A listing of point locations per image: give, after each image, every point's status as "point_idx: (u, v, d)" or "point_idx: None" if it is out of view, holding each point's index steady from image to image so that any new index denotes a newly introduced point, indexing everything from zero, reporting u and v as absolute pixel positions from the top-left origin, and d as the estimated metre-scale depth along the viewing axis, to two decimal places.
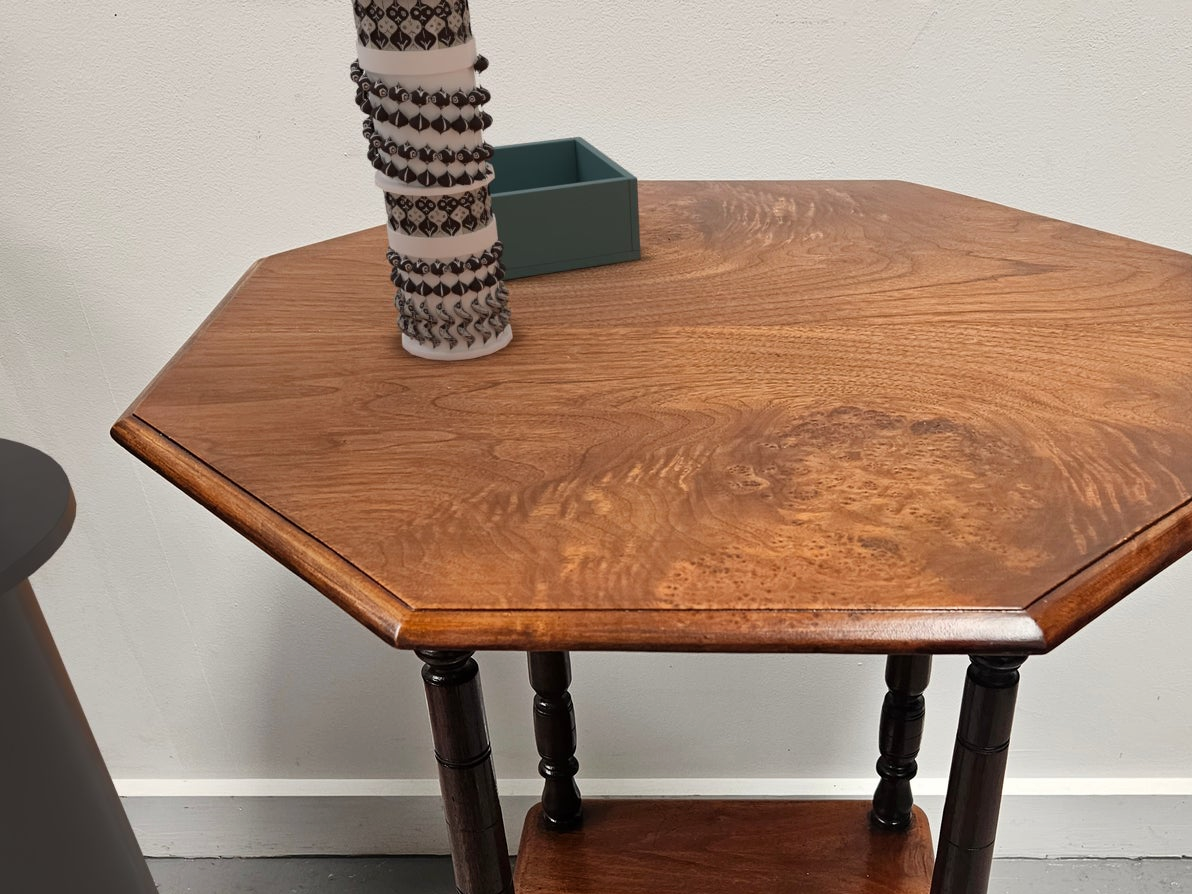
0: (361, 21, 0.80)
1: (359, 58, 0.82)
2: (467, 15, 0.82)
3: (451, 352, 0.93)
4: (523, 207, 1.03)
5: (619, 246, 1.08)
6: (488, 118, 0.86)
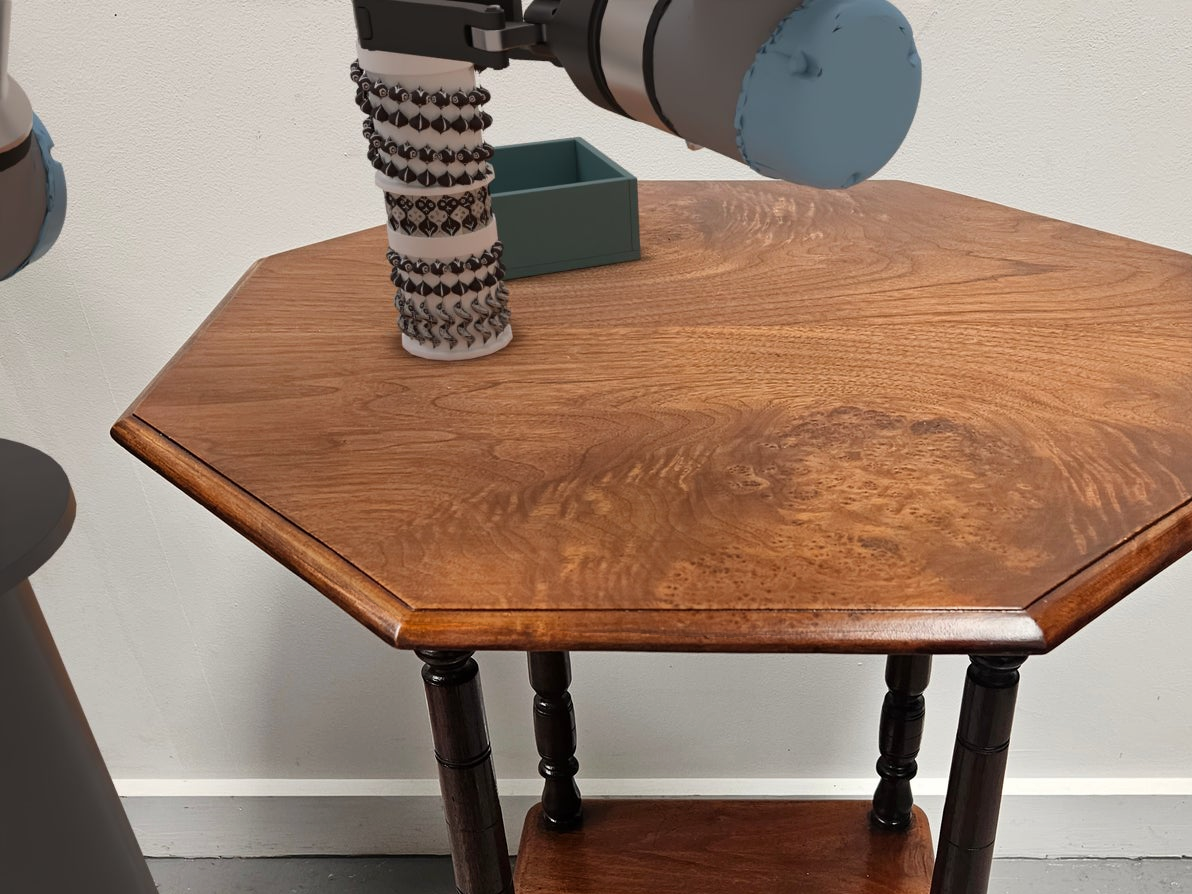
0: None
1: (359, 58, 0.82)
2: None
3: (451, 352, 0.93)
4: (523, 207, 1.03)
5: (619, 246, 1.08)
6: (488, 118, 0.86)
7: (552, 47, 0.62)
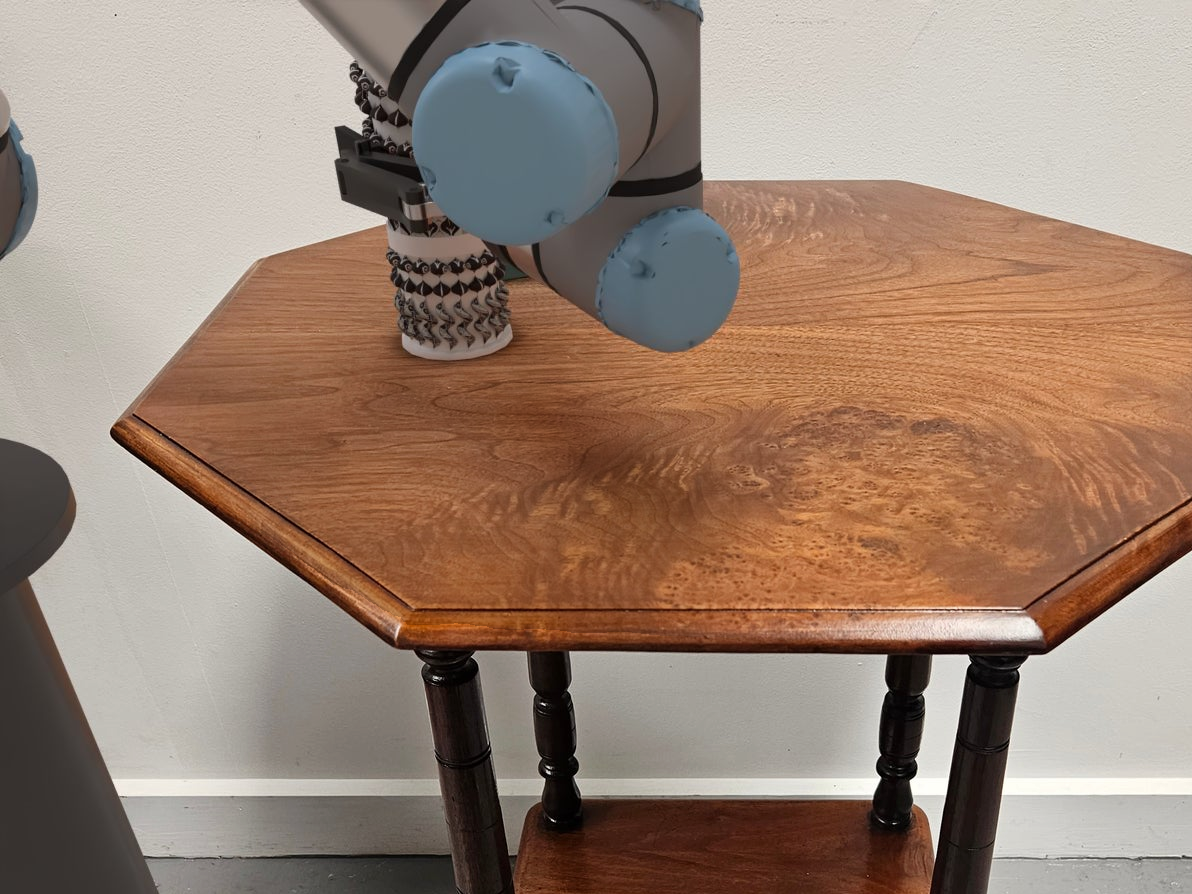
0: None
1: None
2: None
3: (451, 352, 0.92)
4: None
5: None
6: None
7: None
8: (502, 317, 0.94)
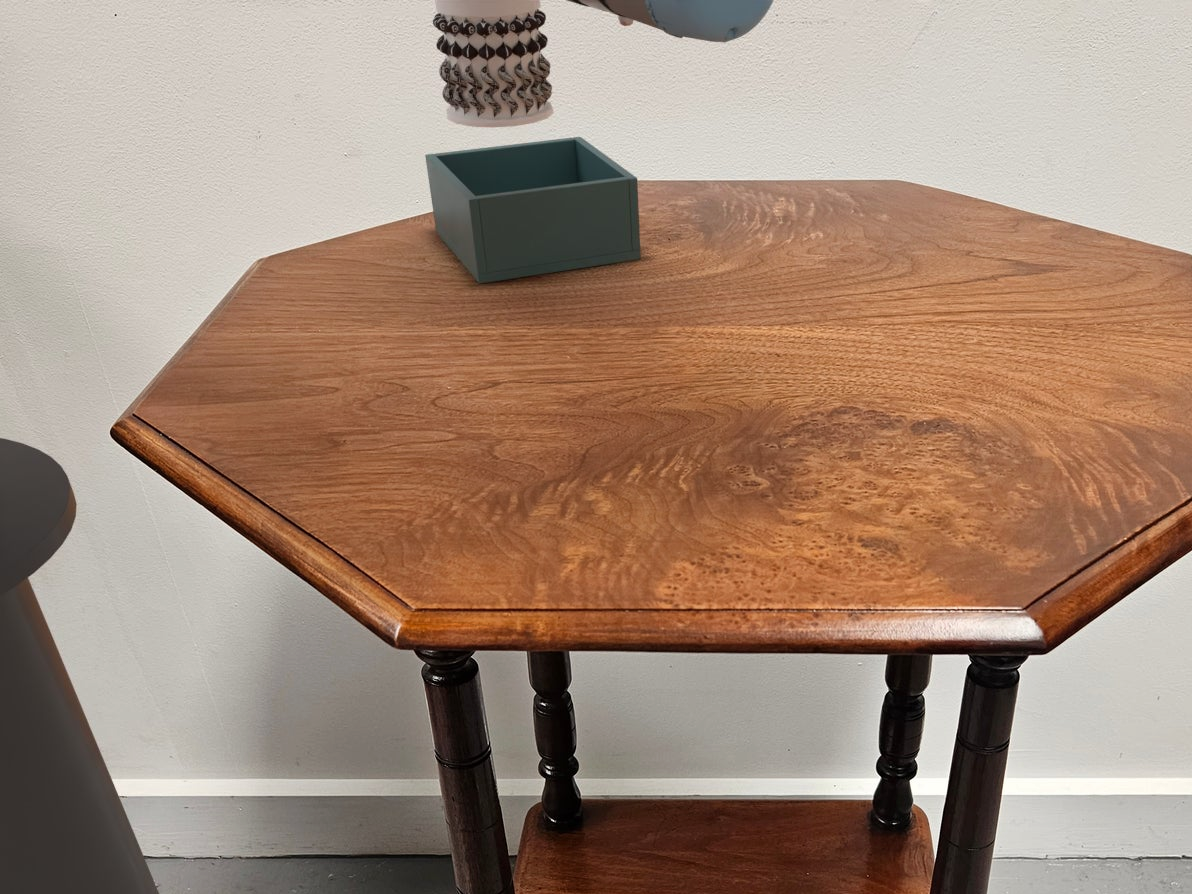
0: None
1: None
2: None
3: (495, 119, 0.96)
4: (523, 207, 1.03)
5: (619, 246, 1.08)
6: None
7: None
8: (544, 88, 0.97)
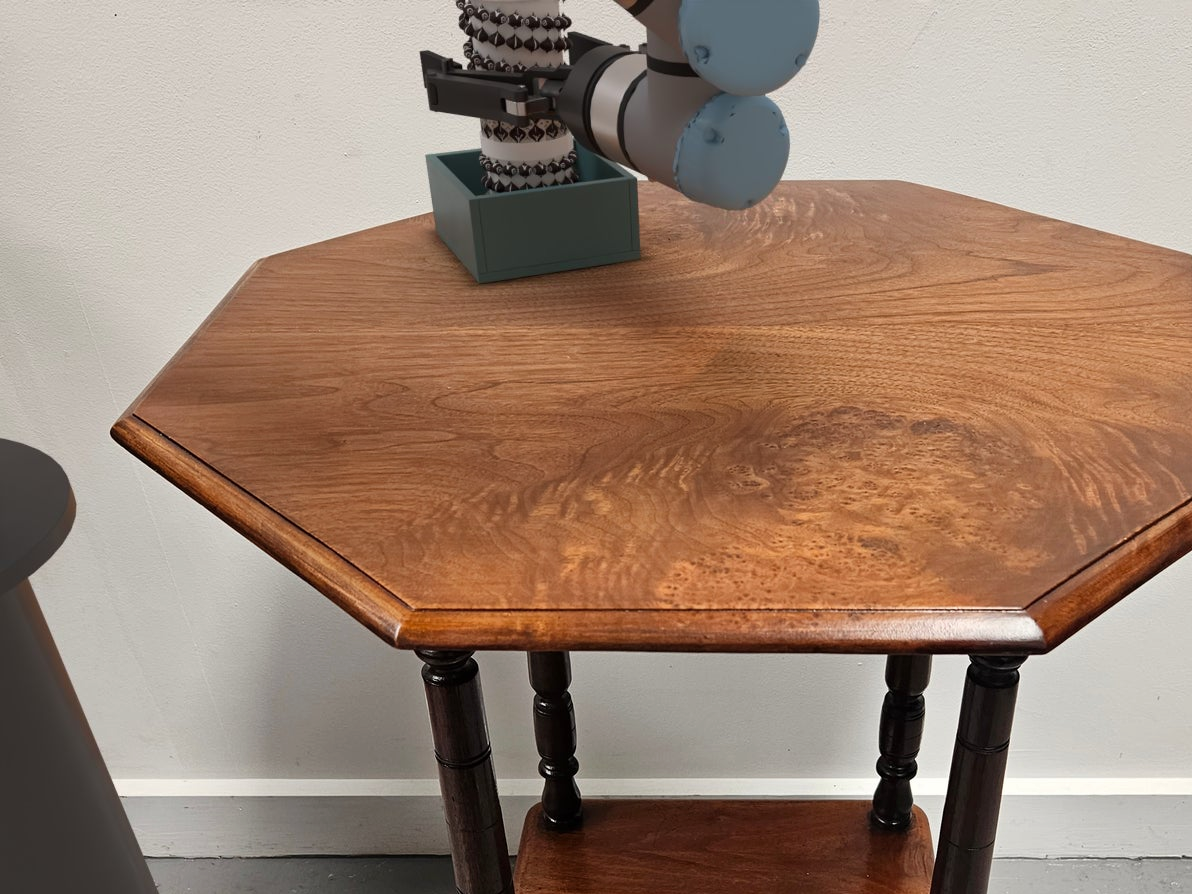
0: None
1: None
2: None
3: None
4: (523, 207, 1.03)
5: (619, 246, 1.08)
6: (569, 41, 1.02)
7: (559, 113, 0.93)
8: None
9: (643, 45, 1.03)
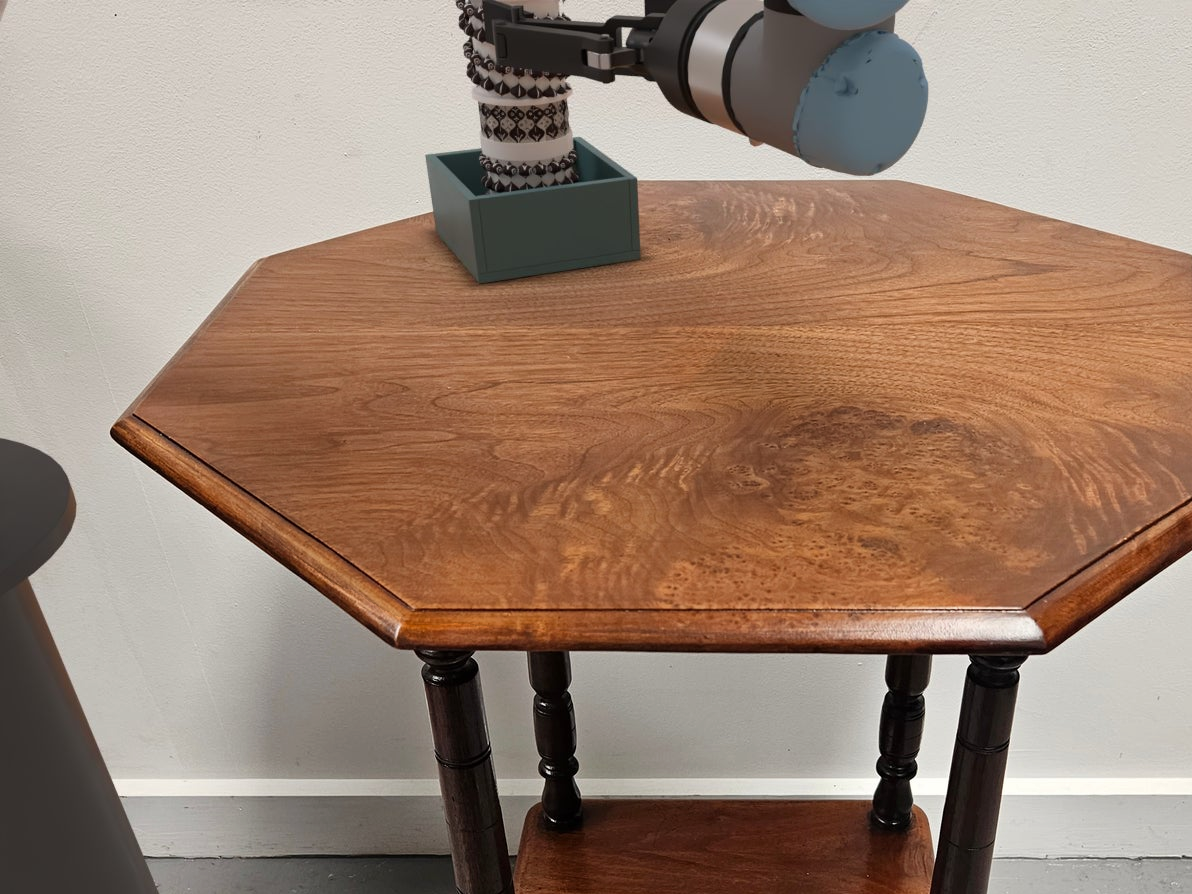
0: None
1: None
2: None
3: None
4: (523, 207, 1.03)
5: (619, 246, 1.08)
6: None
7: (648, 66, 0.81)
8: None
9: None
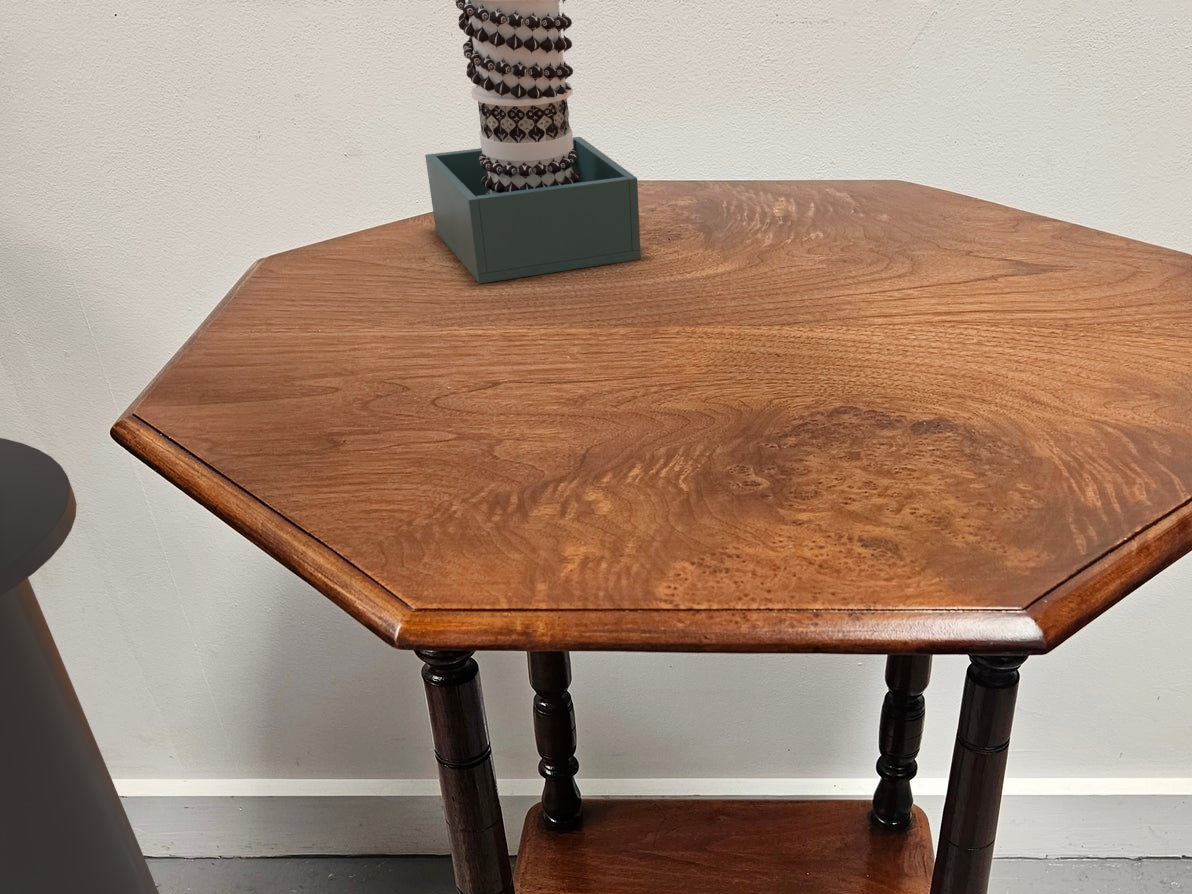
0: None
1: None
2: None
3: None
4: (523, 207, 1.03)
5: (619, 246, 1.08)
6: (569, 41, 1.02)
7: None
8: None
9: None
